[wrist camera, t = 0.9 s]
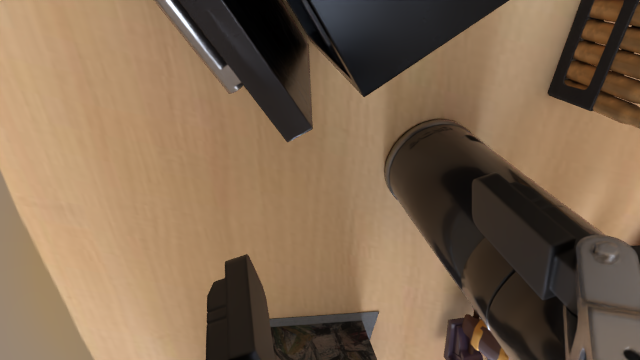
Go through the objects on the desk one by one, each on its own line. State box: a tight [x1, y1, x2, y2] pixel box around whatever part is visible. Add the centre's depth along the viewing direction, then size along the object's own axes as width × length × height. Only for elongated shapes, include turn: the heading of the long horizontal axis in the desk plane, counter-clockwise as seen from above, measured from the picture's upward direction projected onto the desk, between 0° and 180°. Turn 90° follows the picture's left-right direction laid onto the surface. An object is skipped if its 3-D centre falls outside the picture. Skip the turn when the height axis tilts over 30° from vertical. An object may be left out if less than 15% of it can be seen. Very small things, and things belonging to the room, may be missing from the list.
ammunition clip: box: [548, 0, 640, 128], centre depth 30 cm, size 11×2×12 cm, turn 177°
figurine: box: [444, 306, 510, 360], centre depth 46 cm, size 20×14×17 cm
